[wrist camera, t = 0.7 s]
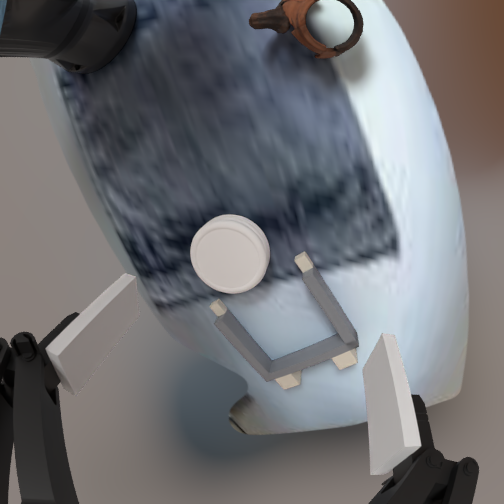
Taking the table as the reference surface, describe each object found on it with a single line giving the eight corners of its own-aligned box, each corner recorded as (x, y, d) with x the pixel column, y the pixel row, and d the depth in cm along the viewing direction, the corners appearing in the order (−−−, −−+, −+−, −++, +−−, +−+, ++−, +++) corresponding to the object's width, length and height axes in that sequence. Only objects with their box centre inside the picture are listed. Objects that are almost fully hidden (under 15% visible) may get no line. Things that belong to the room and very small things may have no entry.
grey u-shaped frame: (212, 302, 42) (205, 313, 39) (305, 251, 36) (304, 260, 33) (279, 379, 46) (276, 392, 43) (364, 345, 40) (366, 358, 37)
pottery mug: (330, -12, 22) (363, -17, 16) (342, 50, 29) (375, 60, 23) (236, -2, 23) (247, -11, 17) (254, 64, 29) (270, 74, 24)
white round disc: (186, 230, 39) (175, 239, 35) (249, 201, 35) (243, 208, 32) (219, 290, 41) (212, 303, 38) (283, 269, 38) (280, 281, 35)
